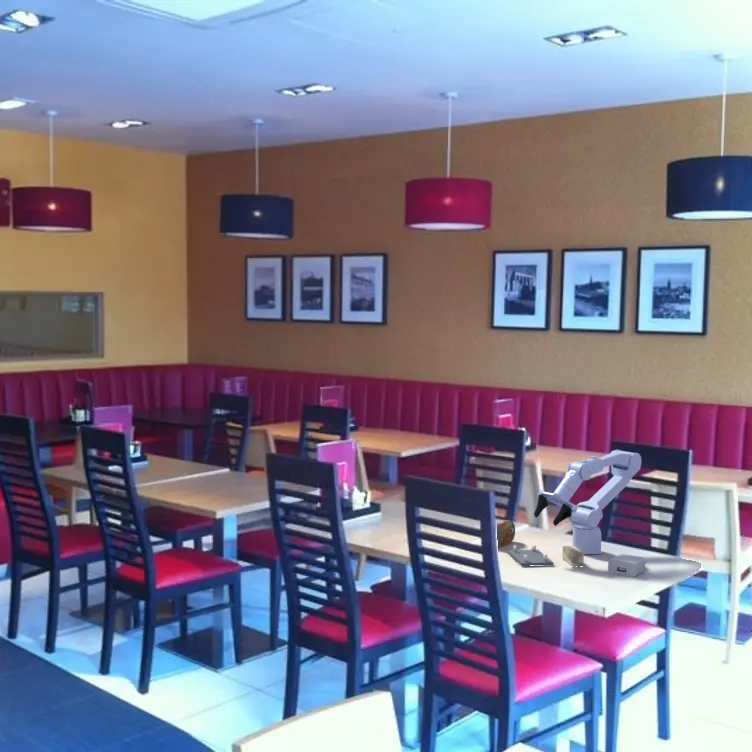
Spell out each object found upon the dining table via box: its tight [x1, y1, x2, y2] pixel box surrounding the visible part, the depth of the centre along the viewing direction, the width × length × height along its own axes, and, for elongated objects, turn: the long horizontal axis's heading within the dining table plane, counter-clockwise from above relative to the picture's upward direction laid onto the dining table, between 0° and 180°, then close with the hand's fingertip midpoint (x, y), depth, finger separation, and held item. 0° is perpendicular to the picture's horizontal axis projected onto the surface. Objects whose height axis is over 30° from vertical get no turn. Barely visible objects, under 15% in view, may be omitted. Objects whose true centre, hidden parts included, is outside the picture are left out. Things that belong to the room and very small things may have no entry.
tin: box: [496, 519, 516, 548], centre depth 334 cm, size 15×3×8 cm, turn 143°
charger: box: [607, 553, 647, 578], centre depth 306 cm, size 5×9×15 cm
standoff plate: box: [506, 544, 554, 567], centre depth 315 cm, size 11×16×3 cm
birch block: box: [561, 545, 585, 567], centre depth 311 cm, size 4×9×5 cm, turn 9°
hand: (544, 519), depth 314 cm, fingers open, 7 cm apart
